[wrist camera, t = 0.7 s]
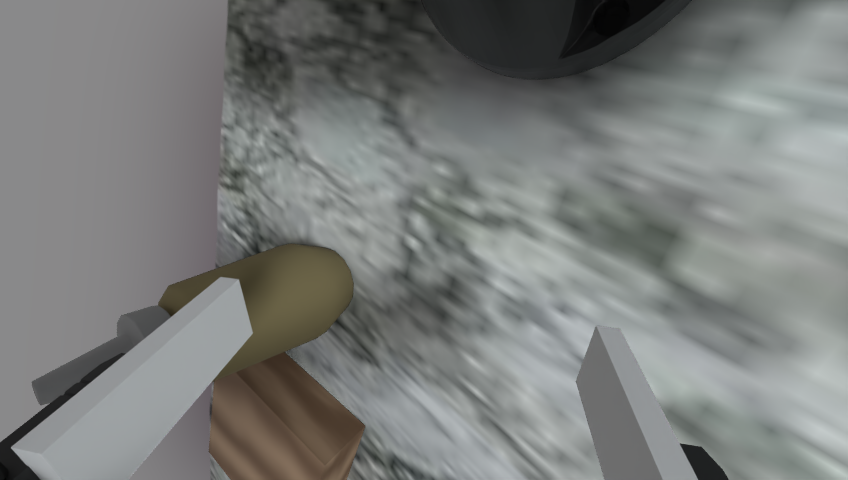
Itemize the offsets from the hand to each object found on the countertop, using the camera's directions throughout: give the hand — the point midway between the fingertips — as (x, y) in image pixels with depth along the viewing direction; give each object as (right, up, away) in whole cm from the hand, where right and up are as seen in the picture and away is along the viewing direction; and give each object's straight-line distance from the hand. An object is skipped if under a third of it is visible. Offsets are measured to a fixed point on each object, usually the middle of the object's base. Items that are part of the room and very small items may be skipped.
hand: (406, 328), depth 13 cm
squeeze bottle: (-8, 0, +18) cm, 19 cm away
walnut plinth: (-14, -18, +26) cm, 34 cm away
